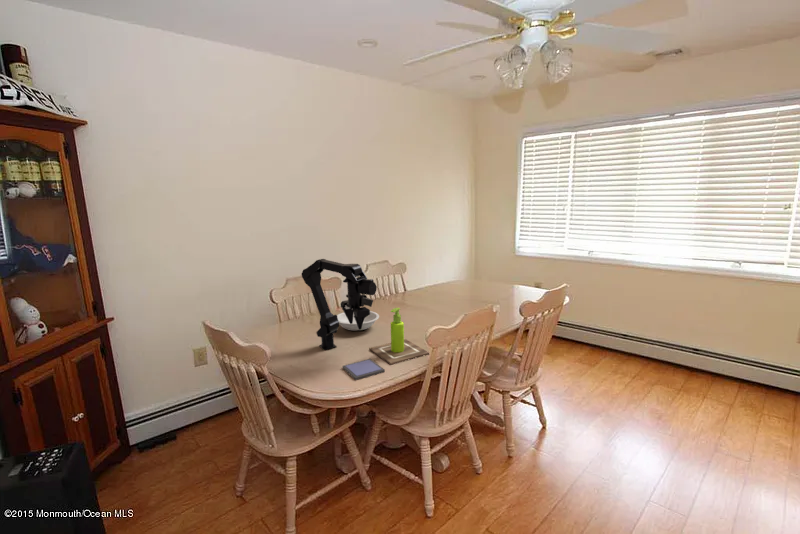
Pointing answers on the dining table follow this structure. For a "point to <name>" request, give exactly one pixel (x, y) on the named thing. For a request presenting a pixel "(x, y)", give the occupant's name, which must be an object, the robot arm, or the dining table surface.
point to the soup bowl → (345, 323)
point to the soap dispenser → (397, 332)
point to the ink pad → (363, 369)
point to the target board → (392, 357)
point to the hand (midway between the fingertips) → (355, 326)
